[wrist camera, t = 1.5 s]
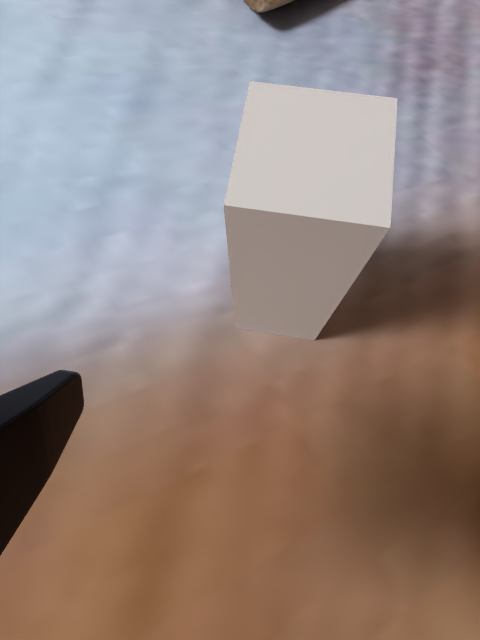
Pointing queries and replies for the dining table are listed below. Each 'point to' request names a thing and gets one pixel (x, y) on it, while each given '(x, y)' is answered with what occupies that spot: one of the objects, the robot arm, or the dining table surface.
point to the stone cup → (265, 4)
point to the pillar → (305, 203)
